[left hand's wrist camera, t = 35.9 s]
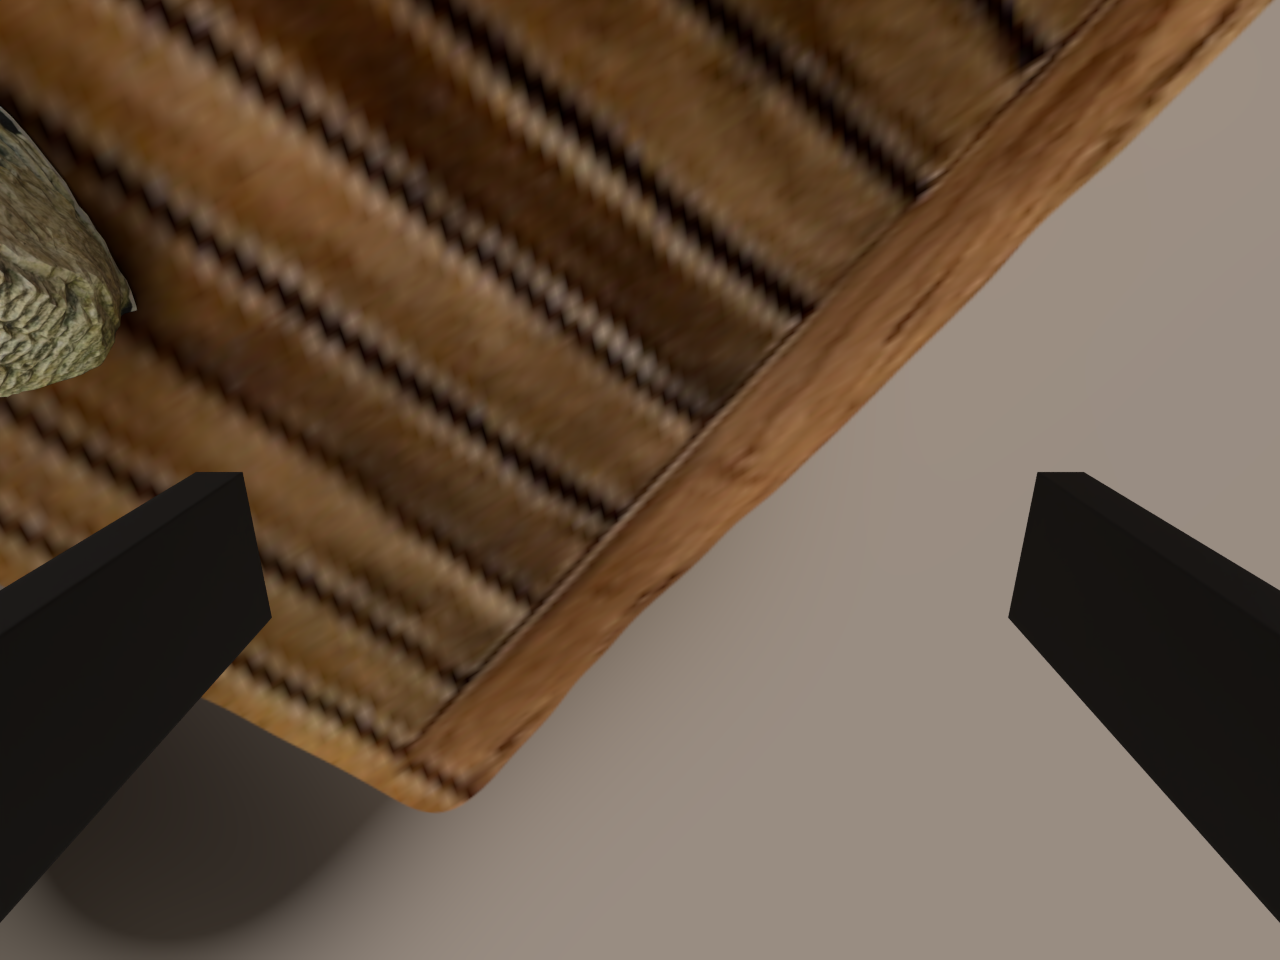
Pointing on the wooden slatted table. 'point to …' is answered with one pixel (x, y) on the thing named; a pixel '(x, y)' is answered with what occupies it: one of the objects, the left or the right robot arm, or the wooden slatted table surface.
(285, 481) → the wooden slatted table surface
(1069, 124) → the wooden slatted table surface
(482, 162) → the wooden slatted table surface
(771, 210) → the wooden slatted table surface
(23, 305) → the fossil
